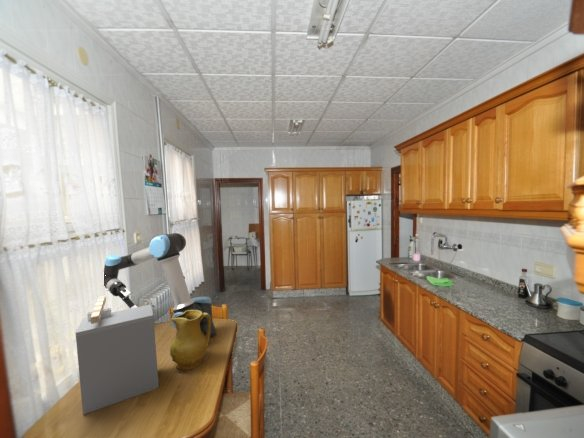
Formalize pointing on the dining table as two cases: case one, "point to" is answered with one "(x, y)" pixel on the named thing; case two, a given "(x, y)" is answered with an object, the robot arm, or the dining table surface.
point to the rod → (98, 310)
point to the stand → (116, 357)
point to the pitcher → (190, 339)
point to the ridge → (104, 314)
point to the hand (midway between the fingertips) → (133, 303)
